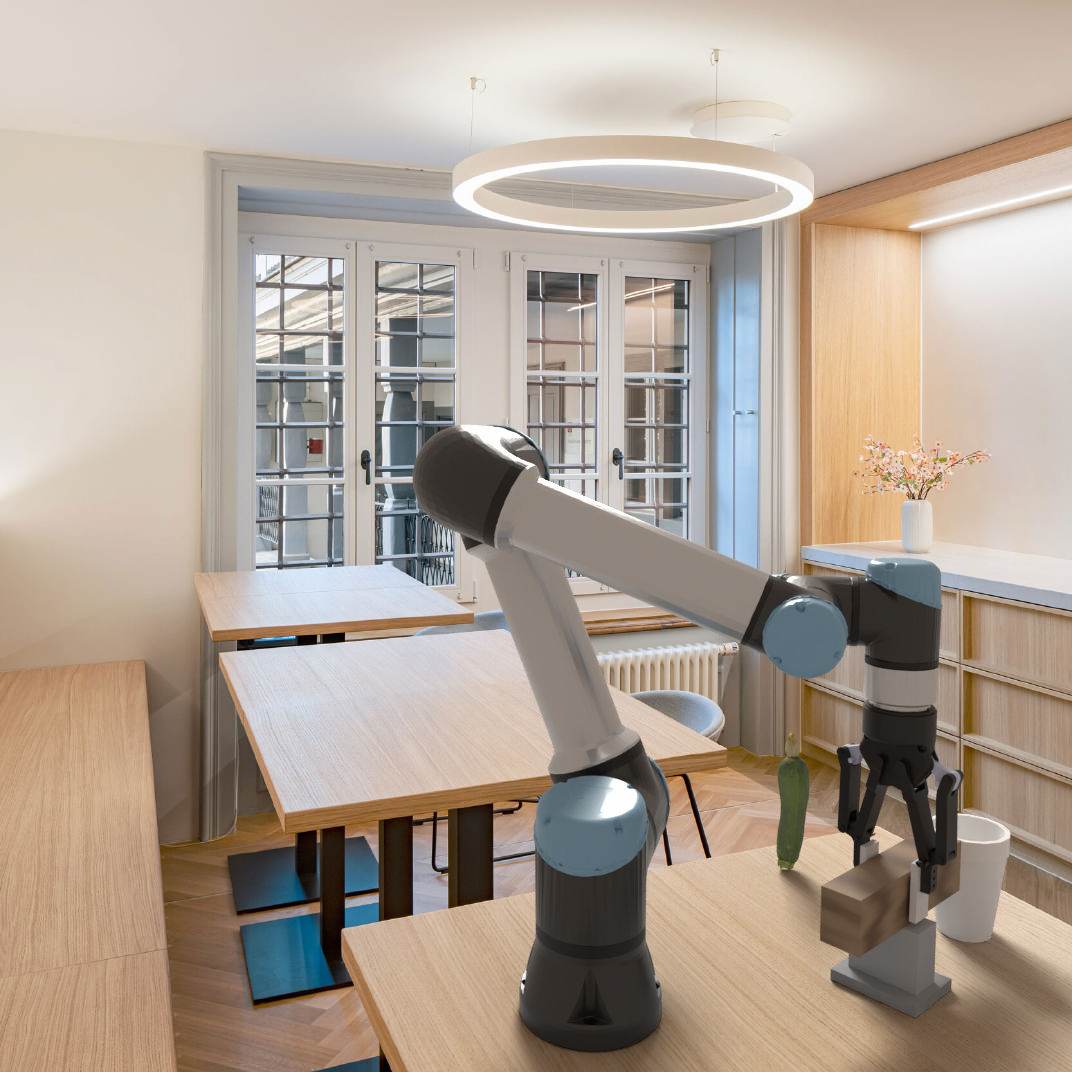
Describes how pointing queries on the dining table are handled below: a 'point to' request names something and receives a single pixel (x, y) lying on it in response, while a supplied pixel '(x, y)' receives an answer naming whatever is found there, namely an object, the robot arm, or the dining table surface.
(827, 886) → the bar
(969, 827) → the foam cup
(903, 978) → the grey stepped block
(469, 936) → the dining table surface
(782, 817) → the vegetable
